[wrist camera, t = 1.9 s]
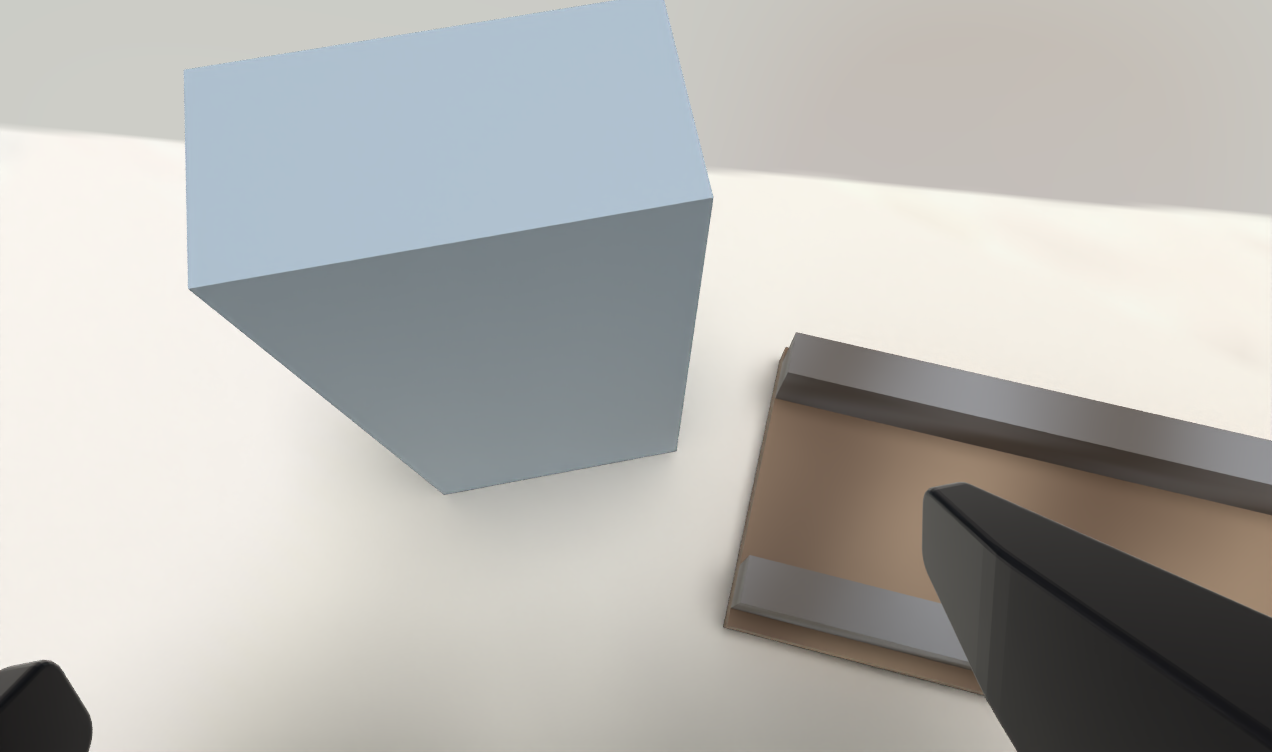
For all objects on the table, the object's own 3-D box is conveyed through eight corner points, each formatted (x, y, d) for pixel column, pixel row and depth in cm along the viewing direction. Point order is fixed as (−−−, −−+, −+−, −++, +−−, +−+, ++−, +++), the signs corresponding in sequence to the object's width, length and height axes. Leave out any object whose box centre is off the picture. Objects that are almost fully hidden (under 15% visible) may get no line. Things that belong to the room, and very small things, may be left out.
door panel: (444, 494, 21) (188, 288, 9) (431, 383, 22) (184, 69, 10) (676, 450, 21) (713, 198, 10) (653, 343, 22) (662, -8, 11)
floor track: (723, 627, 20) (736, 621, 17) (779, 360, 22) (799, 316, 19) (1332, 786, 19) (1454, 809, 16) (1330, 488, 21) (1437, 460, 18)
